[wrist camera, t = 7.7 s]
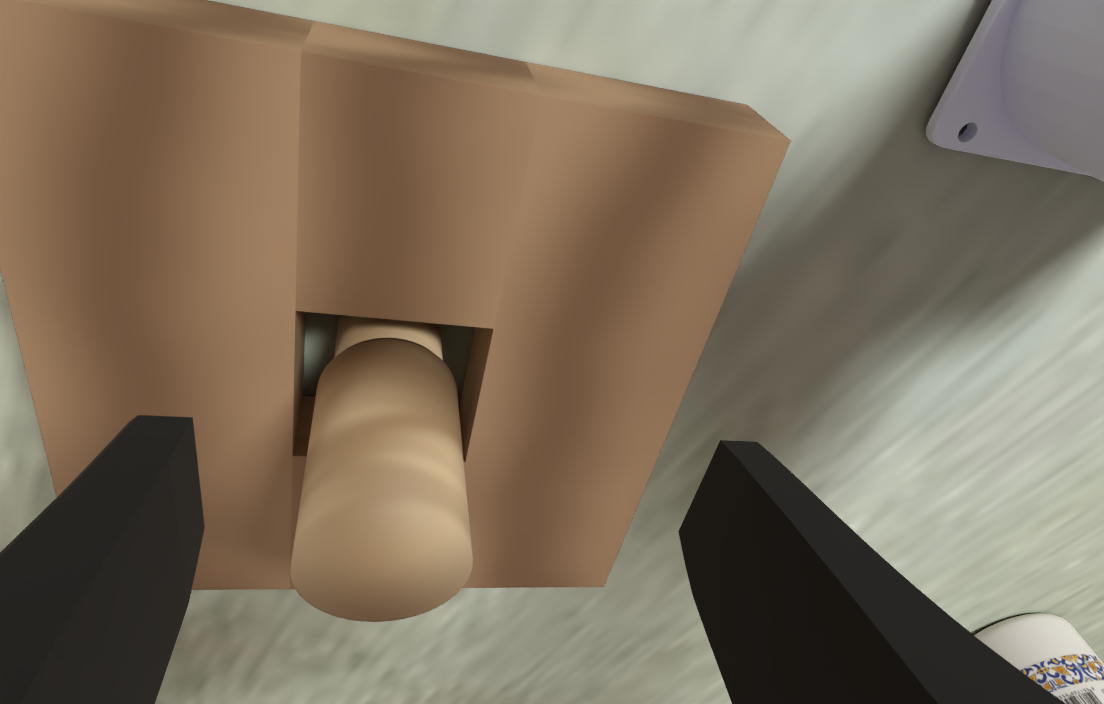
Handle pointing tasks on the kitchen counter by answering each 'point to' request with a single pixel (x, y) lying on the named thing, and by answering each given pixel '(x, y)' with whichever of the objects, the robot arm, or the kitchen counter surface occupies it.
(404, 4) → the kitchen counter surface
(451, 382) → the peg
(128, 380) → the board
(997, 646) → the bath foam
